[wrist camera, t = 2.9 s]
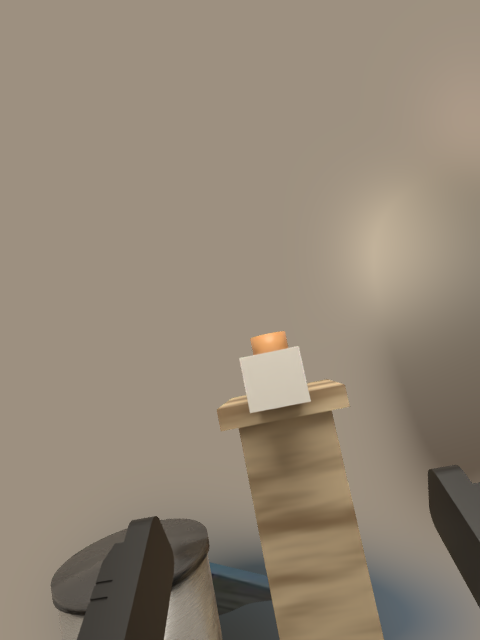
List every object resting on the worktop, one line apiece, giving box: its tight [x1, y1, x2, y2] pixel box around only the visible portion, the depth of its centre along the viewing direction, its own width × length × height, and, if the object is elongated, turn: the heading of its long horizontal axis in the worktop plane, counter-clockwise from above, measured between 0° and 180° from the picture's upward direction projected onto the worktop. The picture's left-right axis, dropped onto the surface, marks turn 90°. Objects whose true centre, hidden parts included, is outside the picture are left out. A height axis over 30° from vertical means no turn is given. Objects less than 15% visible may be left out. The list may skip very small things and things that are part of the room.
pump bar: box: [240, 331, 311, 413], centre depth 37 cm, size 20×4×6 cm, turn 174°
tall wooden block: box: [217, 379, 384, 640], centre depth 38 cm, size 12×12×32 cm
